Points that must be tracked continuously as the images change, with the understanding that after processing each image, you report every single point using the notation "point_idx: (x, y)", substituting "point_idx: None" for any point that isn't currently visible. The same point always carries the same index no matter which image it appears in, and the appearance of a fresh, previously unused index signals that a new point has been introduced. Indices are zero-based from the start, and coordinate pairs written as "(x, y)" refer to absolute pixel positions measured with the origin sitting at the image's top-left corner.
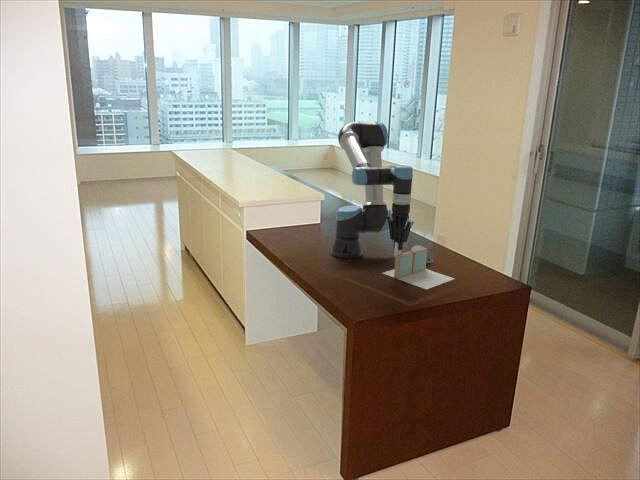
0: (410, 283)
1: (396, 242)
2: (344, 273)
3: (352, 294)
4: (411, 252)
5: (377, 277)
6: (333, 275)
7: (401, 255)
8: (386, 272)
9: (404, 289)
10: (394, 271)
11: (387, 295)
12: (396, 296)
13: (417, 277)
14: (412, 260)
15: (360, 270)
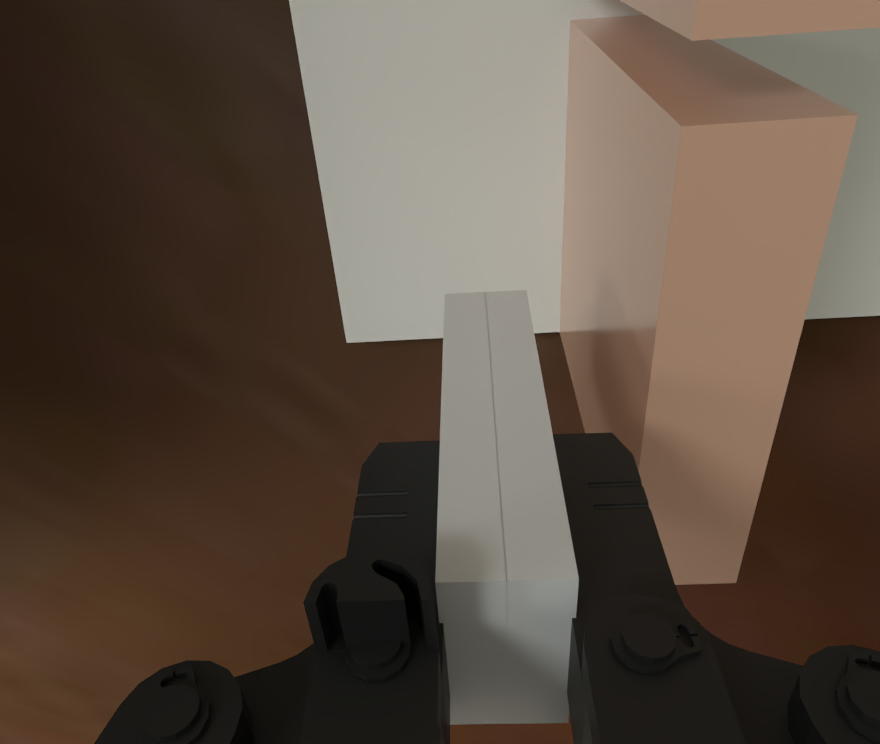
0: (843, 314)
1: (502, 716)
2: (116, 556)
3: (547, 723)
4: (802, 154)
5: (372, 396)
6: (132, 635)
7: (723, 520)
8: (361, 282)
9: (816, 409)
10: (572, 380)
11: (759, 593)
12: (837, 560)
13: (817, 39)
14: (753, 64)
15: (83, 399)
